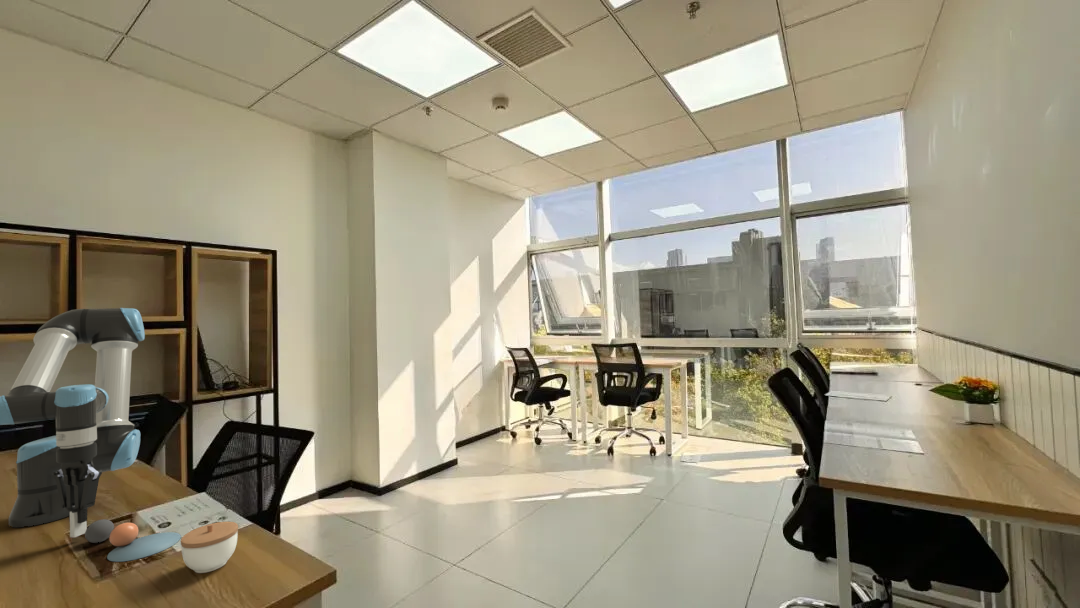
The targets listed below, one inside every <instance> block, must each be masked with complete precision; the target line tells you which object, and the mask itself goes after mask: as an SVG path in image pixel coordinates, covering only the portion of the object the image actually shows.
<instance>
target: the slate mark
mask: <svg viewBox="0 0 1080 608" xmlns="http://www.w3.org/2000/svg"><path fill="white" fill-rule="evenodd" d="M181 539H182V536H181V534H180V533H178V532H173V531H171V532H169V531H167V532H166V531H165V532H157V533H152V534H148V535H144V536H141V537H136V539H135V540H134V541H133V542H131V543H130V544H128V545H125V546H120V547H119V546H116V547H115V548H113V549H112V550H111V551H110V552H109V553H108V554H107V555H106V556H107V557H106V558H107V560H108V561H110V562H117V563H118V562H119V563H122V562H130V561H134V560H135V561H136V560H139V559H144V558H146V557H151V556H153V555H156V554H158V553H161V552H163V551H165V550H167V549H169V548H171V547H172V546H174V545H176V544H177V543H178V542H180V541H181Z"/></svg>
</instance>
